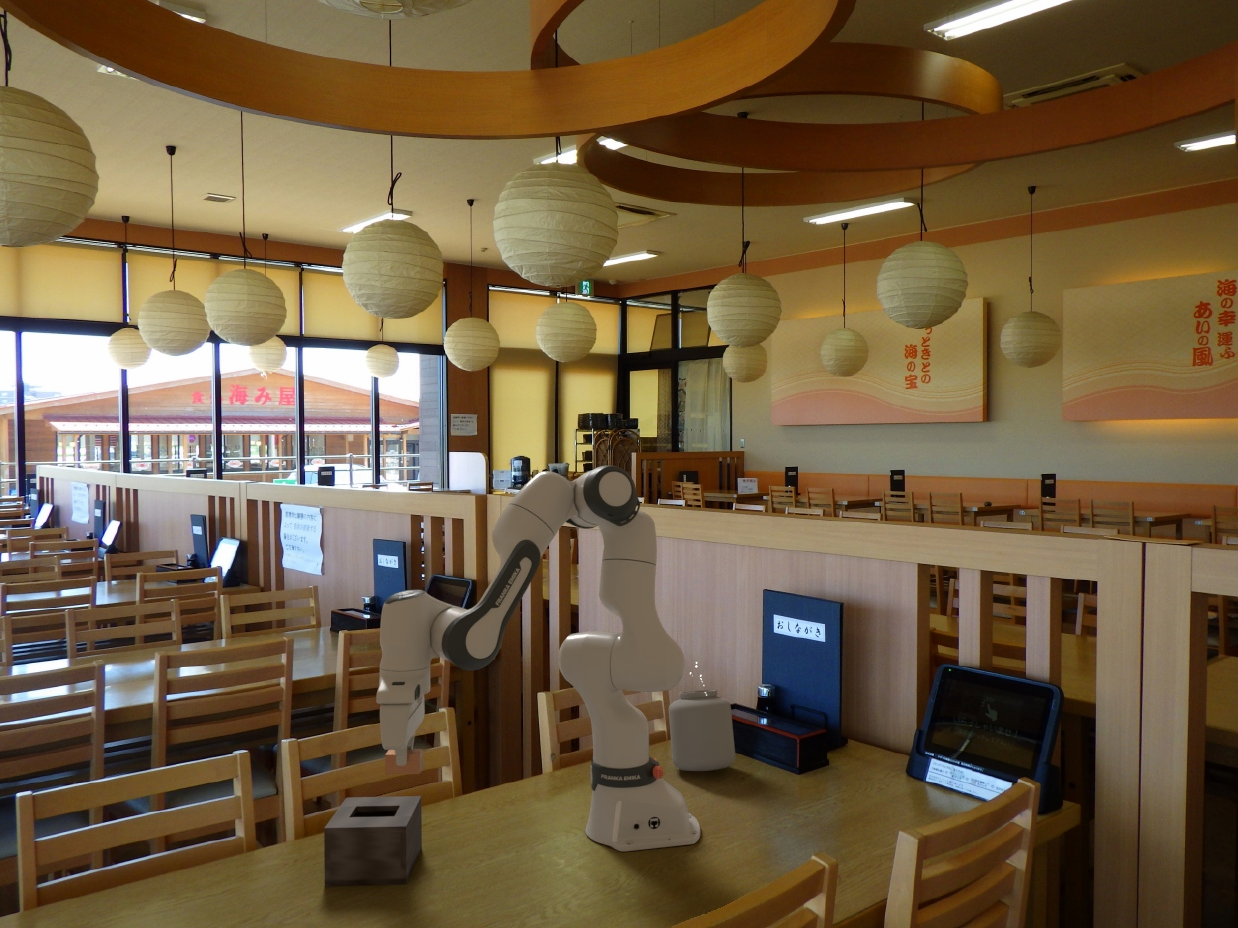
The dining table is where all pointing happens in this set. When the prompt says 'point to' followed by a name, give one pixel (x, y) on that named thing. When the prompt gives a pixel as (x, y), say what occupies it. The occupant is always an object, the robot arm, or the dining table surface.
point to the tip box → (373, 841)
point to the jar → (701, 731)
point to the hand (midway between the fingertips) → (404, 760)
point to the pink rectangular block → (411, 767)
